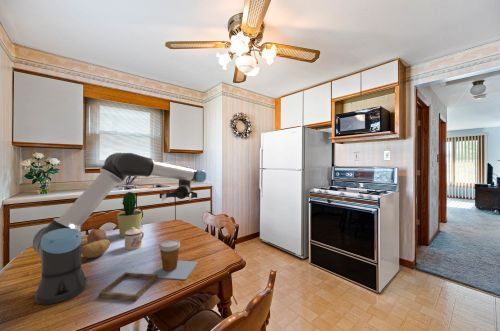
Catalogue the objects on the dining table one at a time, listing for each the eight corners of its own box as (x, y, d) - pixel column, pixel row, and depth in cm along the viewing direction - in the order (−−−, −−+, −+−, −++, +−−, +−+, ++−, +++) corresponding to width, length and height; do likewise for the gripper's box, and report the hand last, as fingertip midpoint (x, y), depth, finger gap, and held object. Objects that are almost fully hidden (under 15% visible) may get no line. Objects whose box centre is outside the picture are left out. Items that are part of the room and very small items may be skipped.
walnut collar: (98, 297, 81) (98, 293, 81) (125, 276, 96) (125, 272, 96) (136, 301, 79) (136, 296, 79) (157, 278, 94) (157, 274, 94)
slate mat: (150, 277, 95) (150, 276, 95) (168, 260, 111) (168, 259, 111) (185, 280, 93) (185, 279, 93) (198, 262, 109) (198, 261, 109)
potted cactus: (146, 234, 149) (146, 191, 148) (121, 240, 137) (121, 193, 136) (137, 229, 159) (137, 188, 158) (113, 234, 147) (113, 190, 147)
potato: (115, 252, 120) (115, 238, 120) (89, 263, 107) (89, 247, 106) (102, 249, 123) (102, 235, 123) (75, 260, 110) (75, 244, 110)
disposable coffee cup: (184, 267, 104) (184, 242, 103) (166, 275, 96) (166, 248, 96) (172, 261, 109) (172, 238, 109) (154, 268, 102) (155, 243, 101)
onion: (90, 248, 132) (85, 233, 133) (108, 241, 137) (103, 226, 138) (89, 248, 124) (83, 231, 125) (107, 240, 129) (102, 224, 130)
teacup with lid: (132, 251, 121) (132, 230, 121) (120, 248, 124) (120, 228, 124) (149, 243, 133) (149, 224, 132) (137, 241, 136) (137, 223, 135)
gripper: (202, 197, 136) (200, 204, 115) (161, 198, 132) (150, 205, 111) (202, 185, 135) (200, 190, 114) (161, 186, 131) (150, 191, 110)
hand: (176, 198), depth 113 cm, fingers open, 13 cm apart
